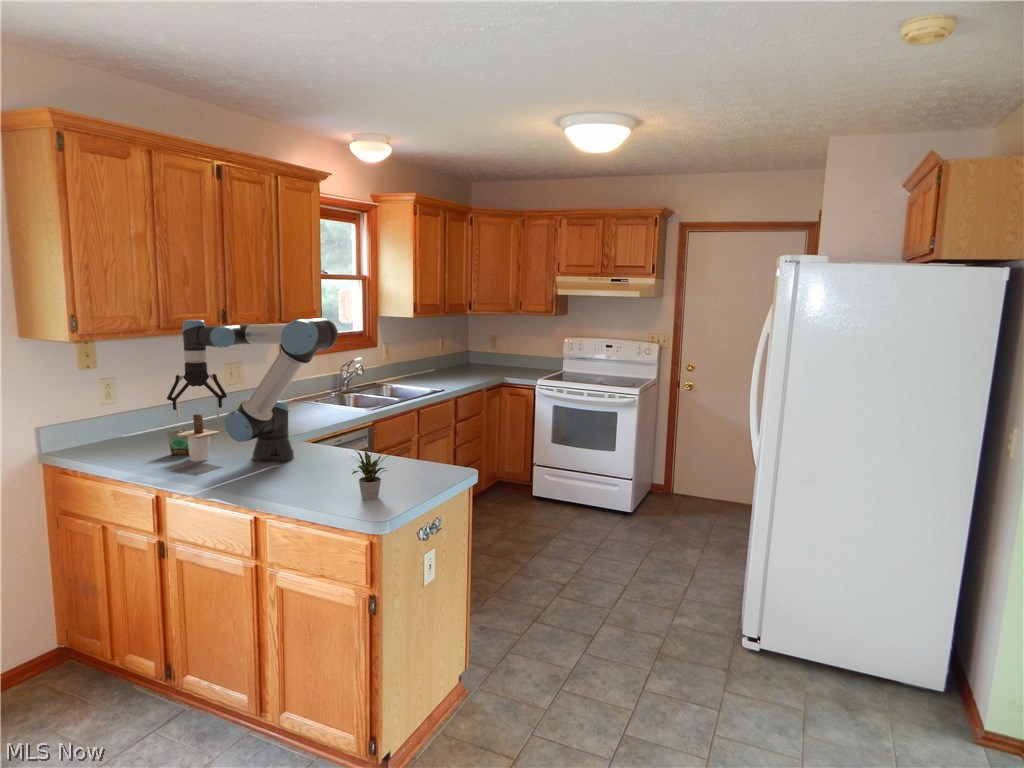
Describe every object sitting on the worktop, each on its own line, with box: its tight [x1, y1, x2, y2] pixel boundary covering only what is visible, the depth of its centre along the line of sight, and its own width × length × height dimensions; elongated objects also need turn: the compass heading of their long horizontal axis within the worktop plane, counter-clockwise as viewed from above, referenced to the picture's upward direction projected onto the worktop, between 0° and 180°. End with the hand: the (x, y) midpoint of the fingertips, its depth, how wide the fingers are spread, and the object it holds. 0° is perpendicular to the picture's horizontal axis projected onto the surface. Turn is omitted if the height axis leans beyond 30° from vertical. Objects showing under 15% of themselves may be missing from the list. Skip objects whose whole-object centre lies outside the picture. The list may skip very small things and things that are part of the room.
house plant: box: [350, 449, 391, 501], centre depth 212 cm, size 14×14×16 cm
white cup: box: [187, 436, 211, 462], centre depth 251 cm, size 8×8×10 cm
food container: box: [166, 429, 190, 457], centre depth 256 cm, size 12×6×10 cm, turn 105°
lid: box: [177, 413, 221, 439], centre depth 249 cm, size 10×10×8 cm
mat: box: [170, 462, 224, 477], centre depth 238 cm, size 13×13×1 cm
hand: (198, 417), depth 249 cm, fingers open, 13 cm apart
